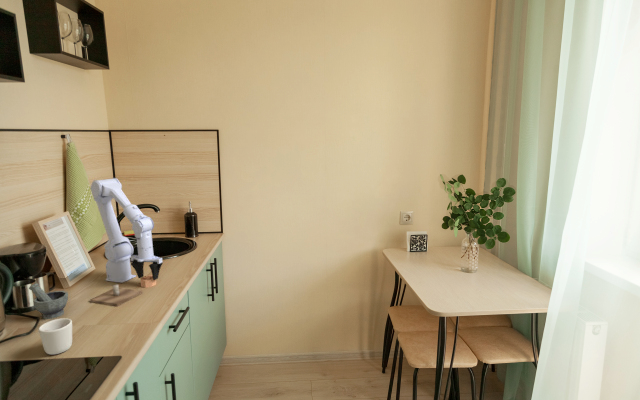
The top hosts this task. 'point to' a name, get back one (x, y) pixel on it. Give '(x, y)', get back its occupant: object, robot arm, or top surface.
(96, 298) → the peg plate
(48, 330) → the cup
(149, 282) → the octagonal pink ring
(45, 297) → the mortar and pestle
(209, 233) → the top surface
